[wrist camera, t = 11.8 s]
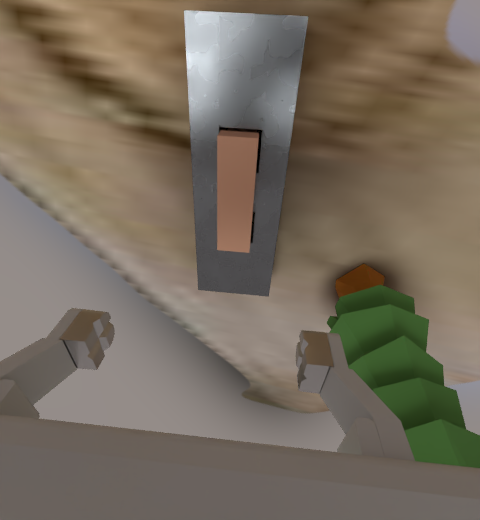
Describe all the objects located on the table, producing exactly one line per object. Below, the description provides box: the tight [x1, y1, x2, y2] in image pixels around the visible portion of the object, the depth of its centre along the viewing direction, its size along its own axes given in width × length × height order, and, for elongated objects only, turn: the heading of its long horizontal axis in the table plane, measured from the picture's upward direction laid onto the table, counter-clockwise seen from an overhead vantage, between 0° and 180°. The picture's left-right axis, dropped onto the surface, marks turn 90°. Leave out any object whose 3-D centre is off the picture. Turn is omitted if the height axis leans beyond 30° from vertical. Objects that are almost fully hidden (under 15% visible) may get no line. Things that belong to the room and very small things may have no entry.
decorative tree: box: [327, 264, 480, 468], centre depth 23 cm, size 10×9×30 cm
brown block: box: [217, 128, 259, 253], centre depth 26 cm, size 10×3×6 cm, turn 177°
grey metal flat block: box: [184, 10, 308, 296], centre depth 27 cm, size 24×8×4 cm, turn 177°
